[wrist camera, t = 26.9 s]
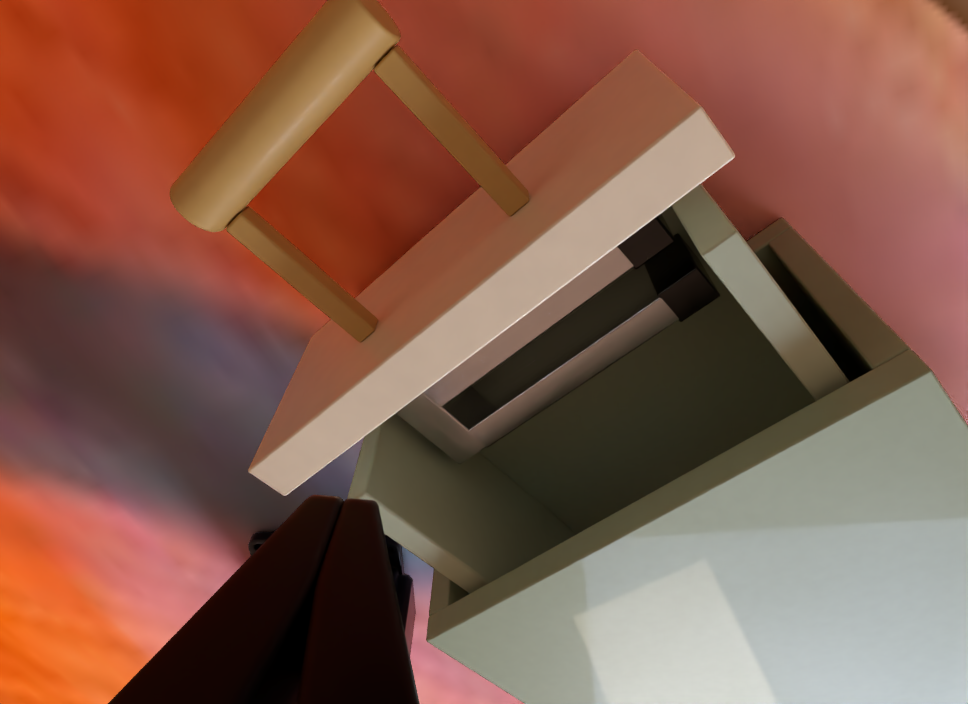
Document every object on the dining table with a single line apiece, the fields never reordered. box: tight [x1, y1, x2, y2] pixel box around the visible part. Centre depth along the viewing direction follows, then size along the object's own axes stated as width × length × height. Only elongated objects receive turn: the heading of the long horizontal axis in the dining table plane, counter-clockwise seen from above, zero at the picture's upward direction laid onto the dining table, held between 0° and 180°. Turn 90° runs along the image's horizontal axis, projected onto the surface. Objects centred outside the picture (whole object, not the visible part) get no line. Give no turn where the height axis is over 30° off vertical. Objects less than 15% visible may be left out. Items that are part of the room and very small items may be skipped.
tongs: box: [396, 214, 720, 464], centre depth 18 cm, size 9×3×2 cm, turn 132°
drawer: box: [170, 0, 850, 594], centre depth 17 cm, size 19×13×6 cm
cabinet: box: [426, 218, 968, 704], centre depth 21 cm, size 15×14×8 cm
